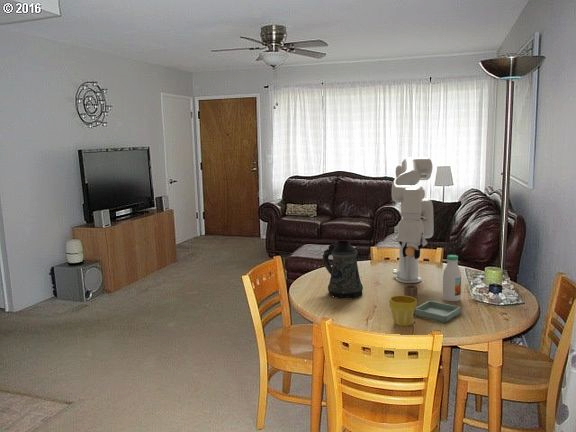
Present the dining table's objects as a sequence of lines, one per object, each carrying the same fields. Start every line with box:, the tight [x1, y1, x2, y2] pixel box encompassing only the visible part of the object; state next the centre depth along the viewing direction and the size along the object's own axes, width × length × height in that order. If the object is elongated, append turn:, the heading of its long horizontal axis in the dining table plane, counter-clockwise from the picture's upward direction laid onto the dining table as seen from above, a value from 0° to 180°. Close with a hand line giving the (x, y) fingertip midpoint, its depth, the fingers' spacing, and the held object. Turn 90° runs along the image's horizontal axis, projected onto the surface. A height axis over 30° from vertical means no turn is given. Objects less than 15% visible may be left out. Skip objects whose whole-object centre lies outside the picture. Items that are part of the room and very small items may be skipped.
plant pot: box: [388, 294, 418, 327], centre depth 188 cm, size 10×10×10 cm
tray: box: [413, 300, 462, 324], centre depth 197 cm, size 14×14×3 cm
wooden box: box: [403, 284, 418, 301], centre depth 213 cm, size 4×4×7 cm
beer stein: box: [322, 240, 364, 299], centre depth 226 cm, size 16×19×25 cm
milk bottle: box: [442, 254, 462, 302], centre depth 214 cm, size 8×8×20 cm
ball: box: [405, 246, 416, 257], centre depth 210 cm, size 5×5×5 cm
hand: (411, 256), depth 210 cm, fingers closed on ball, 4 cm apart
